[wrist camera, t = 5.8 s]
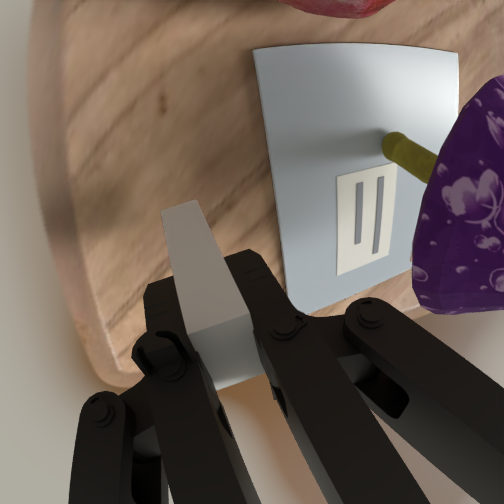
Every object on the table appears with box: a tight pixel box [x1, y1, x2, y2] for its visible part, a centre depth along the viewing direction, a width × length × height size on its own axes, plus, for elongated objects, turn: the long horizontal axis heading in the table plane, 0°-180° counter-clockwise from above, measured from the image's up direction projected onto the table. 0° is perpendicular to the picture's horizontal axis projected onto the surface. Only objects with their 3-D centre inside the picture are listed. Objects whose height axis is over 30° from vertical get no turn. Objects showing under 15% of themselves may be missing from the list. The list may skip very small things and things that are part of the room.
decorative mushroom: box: [382, 75, 504, 315], centre depth 12 cm, size 12×12×15 cm
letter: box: [252, 43, 459, 315], centre depth 19 cm, size 19×16×1 cm
